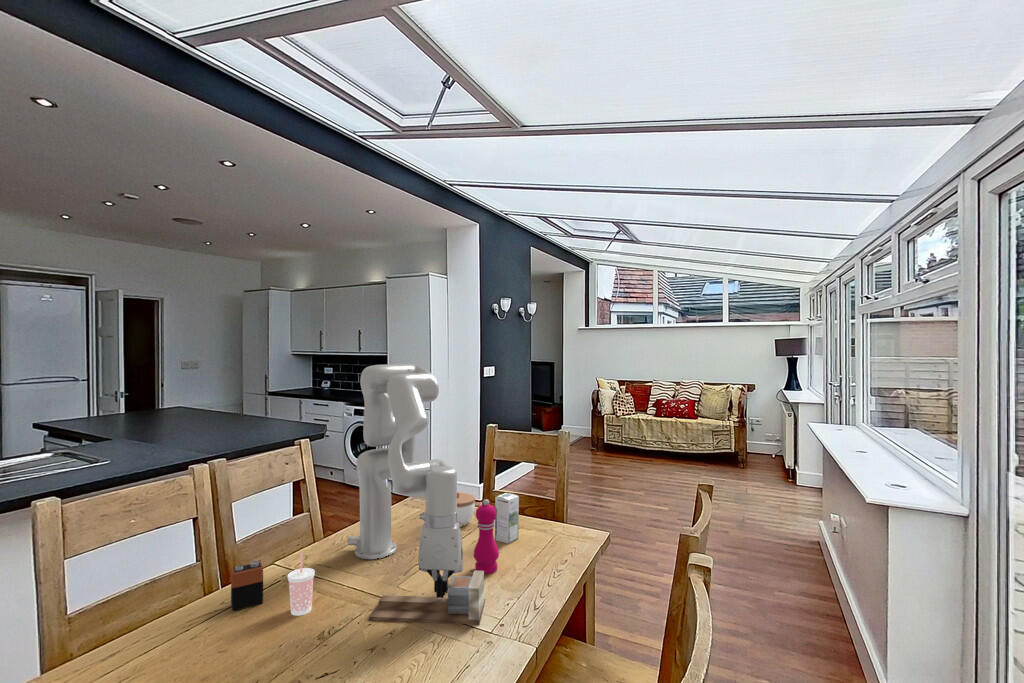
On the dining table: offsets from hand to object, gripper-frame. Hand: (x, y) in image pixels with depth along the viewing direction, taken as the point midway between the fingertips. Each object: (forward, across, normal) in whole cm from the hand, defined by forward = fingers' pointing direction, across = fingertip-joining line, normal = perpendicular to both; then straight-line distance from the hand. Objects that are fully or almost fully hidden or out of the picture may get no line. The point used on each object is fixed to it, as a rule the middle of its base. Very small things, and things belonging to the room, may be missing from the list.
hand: (441, 594), depth 120 cm
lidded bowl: (+5, -8, +59) cm, 60 cm away
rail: (+4, -3, 0) cm, 5 cm away
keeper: (+3, +5, 0) cm, 6 cm away
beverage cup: (+4, -34, -2) cm, 34 cm away
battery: (+4, -49, 0) cm, 49 cm away
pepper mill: (+4, +8, +23) cm, 25 cm away
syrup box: (+4, +12, +45) cm, 47 cm away
